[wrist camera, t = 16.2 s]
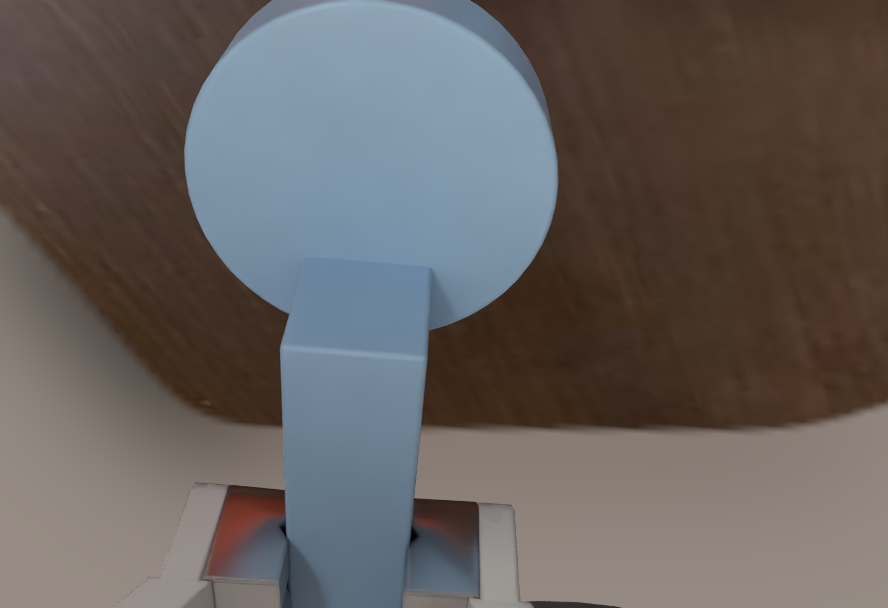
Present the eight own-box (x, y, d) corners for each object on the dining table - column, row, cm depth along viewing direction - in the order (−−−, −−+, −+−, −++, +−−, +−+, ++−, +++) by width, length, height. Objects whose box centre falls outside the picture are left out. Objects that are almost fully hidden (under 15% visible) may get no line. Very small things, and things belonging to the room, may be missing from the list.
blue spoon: (474, 587, 16) (477, 744, 14) (243, 571, 16) (205, 727, 14) (578, -12, 10) (615, 84, 7) (194, -48, 10) (102, 38, 7)
